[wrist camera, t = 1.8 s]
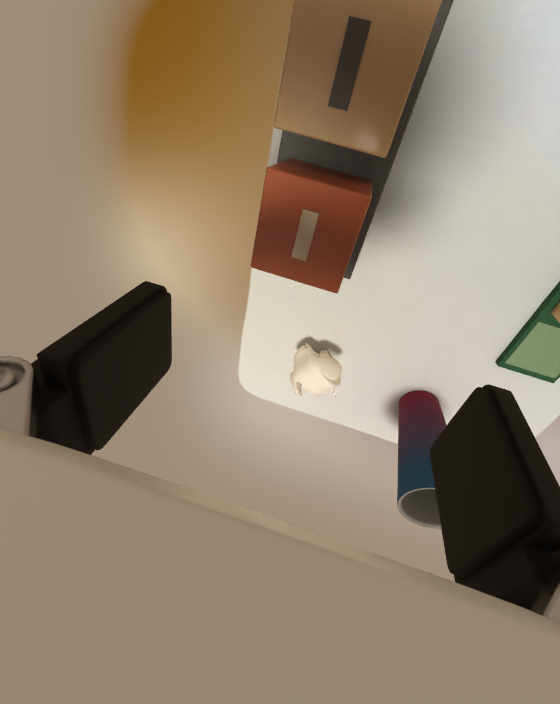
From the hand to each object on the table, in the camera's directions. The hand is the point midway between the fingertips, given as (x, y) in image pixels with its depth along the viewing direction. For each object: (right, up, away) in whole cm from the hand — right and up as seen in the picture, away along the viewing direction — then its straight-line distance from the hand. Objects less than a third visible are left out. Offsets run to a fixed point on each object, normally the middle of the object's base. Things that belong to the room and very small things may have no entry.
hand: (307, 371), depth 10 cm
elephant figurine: (+5, 0, +34) cm, 34 cm away
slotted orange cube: (+2, +9, +10) cm, 14 cm away
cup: (+18, -6, +34) cm, 39 cm away
